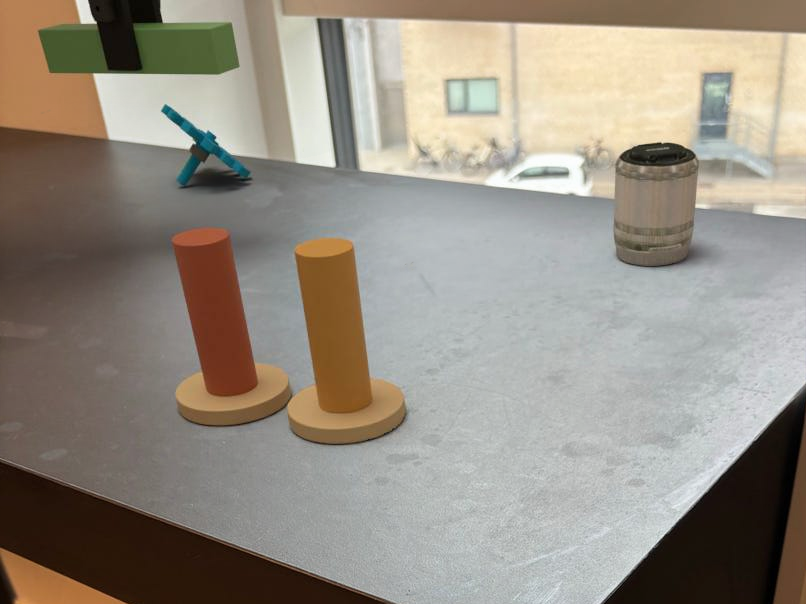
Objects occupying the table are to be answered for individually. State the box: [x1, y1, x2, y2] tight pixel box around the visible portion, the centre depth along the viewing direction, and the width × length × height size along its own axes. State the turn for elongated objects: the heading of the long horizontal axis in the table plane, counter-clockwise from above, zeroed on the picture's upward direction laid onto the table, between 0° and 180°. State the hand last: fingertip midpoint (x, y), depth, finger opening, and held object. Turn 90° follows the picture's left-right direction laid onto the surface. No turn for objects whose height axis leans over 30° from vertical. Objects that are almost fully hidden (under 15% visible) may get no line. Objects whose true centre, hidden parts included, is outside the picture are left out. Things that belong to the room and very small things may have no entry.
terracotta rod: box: [171, 227, 292, 426], centre depth 60 cm, size 7×7×10 cm
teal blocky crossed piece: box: [160, 103, 251, 188], centre depth 104 cm, size 11×6×10 cm
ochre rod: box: [286, 237, 407, 445], centre depth 58 cm, size 7×7×10 cm
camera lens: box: [613, 141, 700, 267], centre depth 79 cm, size 6×6×8 cm
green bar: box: [37, 21, 240, 76], centre depth 79 cm, size 16×3×3 cm, turn 69°
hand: (139, 64), depth 79 cm, fingers closed on green bar, 3 cm apart
